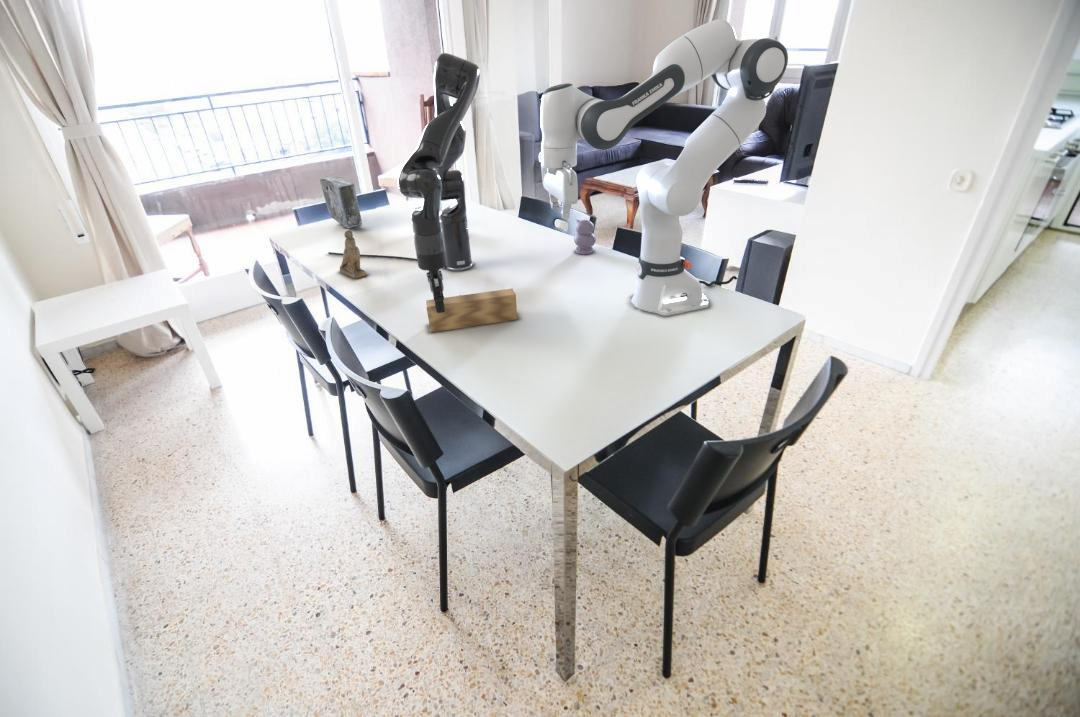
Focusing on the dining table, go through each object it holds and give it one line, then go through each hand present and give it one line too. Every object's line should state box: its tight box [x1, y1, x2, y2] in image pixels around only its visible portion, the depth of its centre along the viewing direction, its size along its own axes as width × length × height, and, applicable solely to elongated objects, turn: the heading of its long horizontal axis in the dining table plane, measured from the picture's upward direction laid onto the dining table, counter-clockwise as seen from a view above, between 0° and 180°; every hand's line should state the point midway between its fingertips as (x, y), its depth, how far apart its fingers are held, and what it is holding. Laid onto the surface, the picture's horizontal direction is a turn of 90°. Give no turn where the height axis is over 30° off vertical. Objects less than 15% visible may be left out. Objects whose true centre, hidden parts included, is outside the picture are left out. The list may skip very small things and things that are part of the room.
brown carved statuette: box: [339, 229, 367, 280], centre depth 174 cm, size 12×6×18 cm, turn 43°
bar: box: [424, 288, 518, 333], centre depth 141 cm, size 25×4×8 cm, turn 105°
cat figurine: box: [573, 218, 597, 255], centre depth 187 cm, size 8×8×12 cm
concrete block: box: [319, 175, 363, 229], centre depth 226 cm, size 27×9×20 cm, turn 36°
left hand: (439, 305), depth 137 cm, fingers open, 8 cm apart
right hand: (559, 213), depth 131 cm, fingers open, 8 cm apart
